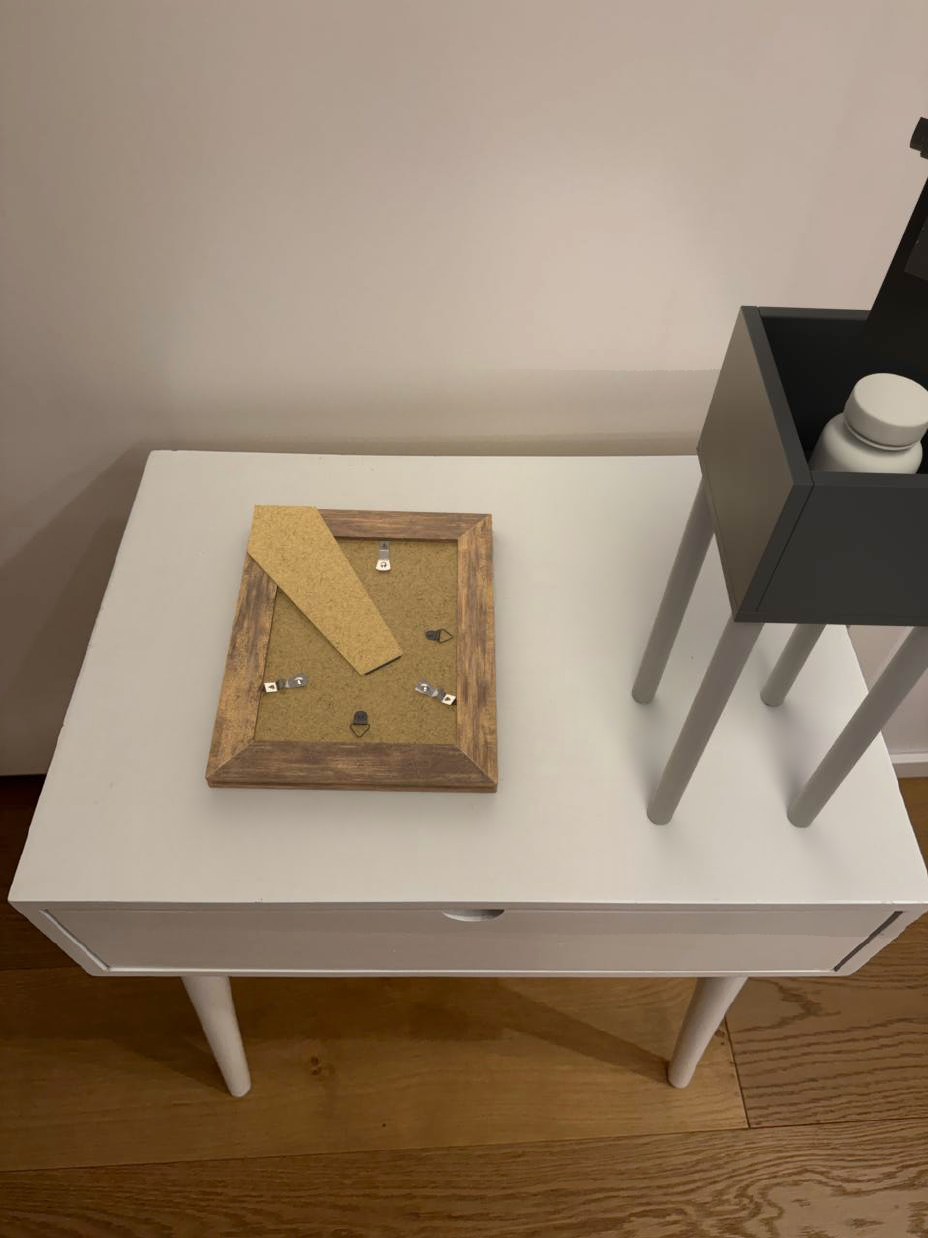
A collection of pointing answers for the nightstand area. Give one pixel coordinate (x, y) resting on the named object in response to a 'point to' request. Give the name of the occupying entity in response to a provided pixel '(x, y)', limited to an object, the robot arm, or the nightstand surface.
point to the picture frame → (361, 654)
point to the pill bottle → (876, 429)
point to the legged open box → (794, 537)
